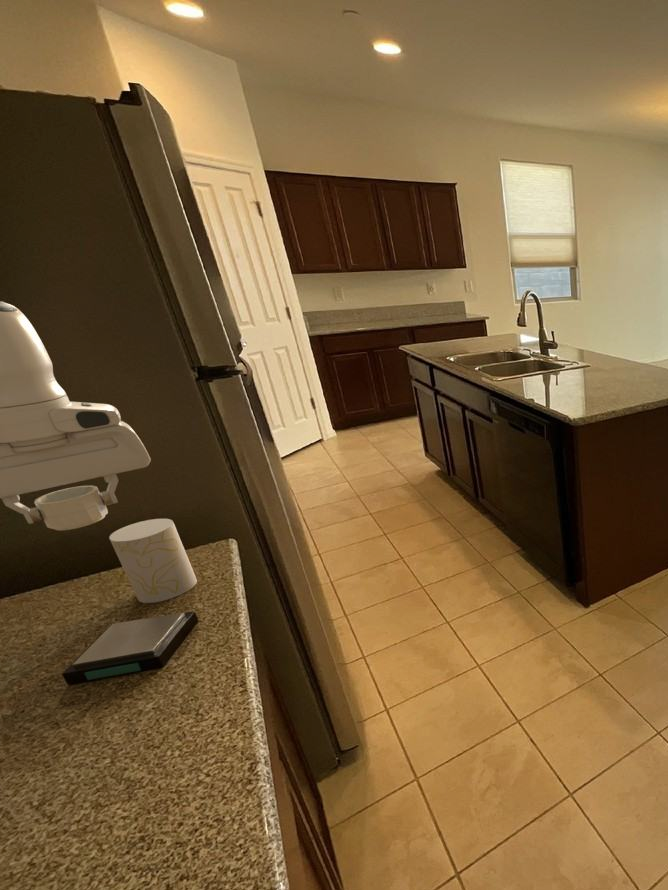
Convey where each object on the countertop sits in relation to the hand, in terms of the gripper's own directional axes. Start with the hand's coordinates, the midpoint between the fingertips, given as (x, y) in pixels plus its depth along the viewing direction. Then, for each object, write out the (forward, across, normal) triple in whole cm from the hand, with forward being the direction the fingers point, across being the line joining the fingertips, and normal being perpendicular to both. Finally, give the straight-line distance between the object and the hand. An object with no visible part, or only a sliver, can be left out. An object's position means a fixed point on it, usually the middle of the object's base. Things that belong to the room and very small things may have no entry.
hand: (75, 511), depth 77 cm
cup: (+20, +6, +7) cm, 22 cm away
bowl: (+2, 0, 0) cm, 2 cm away
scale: (+20, 0, -11) cm, 23 cm away
